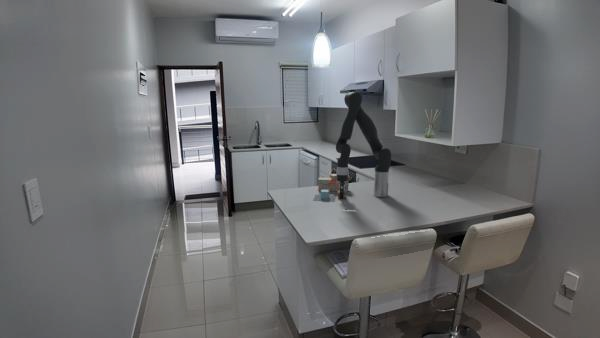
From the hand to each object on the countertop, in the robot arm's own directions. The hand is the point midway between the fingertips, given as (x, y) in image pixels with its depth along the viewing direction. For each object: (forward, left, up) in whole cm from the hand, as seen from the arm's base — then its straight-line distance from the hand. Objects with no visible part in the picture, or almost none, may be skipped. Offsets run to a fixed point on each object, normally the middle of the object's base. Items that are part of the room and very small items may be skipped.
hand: (341, 198), depth 217 cm
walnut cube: (0, 0, 0) cm, 0 cm away
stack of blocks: (+7, -18, -1) cm, 19 cm away
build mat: (+11, +3, 0) cm, 11 cm away
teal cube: (+11, +3, +1) cm, 11 cm away
